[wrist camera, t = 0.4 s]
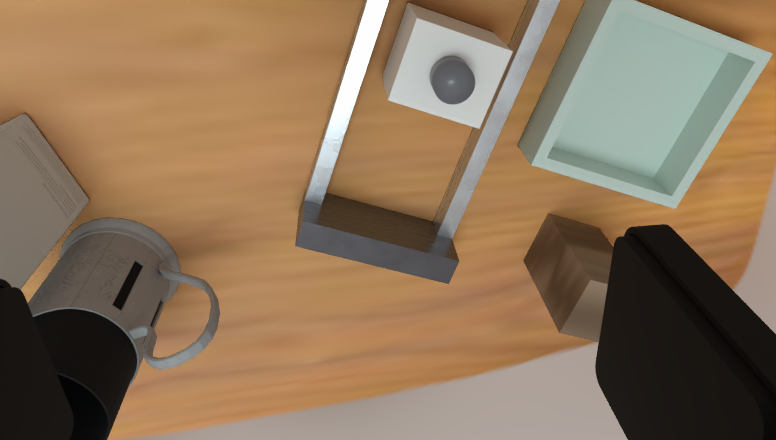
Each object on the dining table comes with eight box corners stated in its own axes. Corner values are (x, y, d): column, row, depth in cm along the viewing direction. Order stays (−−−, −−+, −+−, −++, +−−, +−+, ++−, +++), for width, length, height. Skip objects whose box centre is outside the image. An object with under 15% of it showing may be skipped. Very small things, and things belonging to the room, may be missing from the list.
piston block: (407, 2, 39) (420, 23, 33) (493, 32, 40) (520, 58, 34) (382, 76, 41) (390, 109, 35) (464, 103, 42) (484, 138, 36)
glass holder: (36, 239, 45) (-86, 387, 32) (214, 178, 44) (164, 306, 31) (100, 326, 49) (16, 488, 36) (264, 273, 48) (238, 421, 35)
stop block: (548, 213, 47) (590, 279, 39) (598, 227, 48) (649, 295, 40) (523, 260, 49) (559, 332, 41) (572, 273, 50) (616, 346, 42)
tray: (593, -17, 39) (615, -8, 36) (740, 41, 42) (772, 53, 39) (517, 145, 44) (531, 165, 41) (653, 187, 47) (675, 208, 44)
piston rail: (386, -71, 37) (393, -64, 32) (551, -9, 39) (578, 5, 35) (299, 210, 45) (295, 246, 41) (438, 247, 48) (448, 283, 44)
